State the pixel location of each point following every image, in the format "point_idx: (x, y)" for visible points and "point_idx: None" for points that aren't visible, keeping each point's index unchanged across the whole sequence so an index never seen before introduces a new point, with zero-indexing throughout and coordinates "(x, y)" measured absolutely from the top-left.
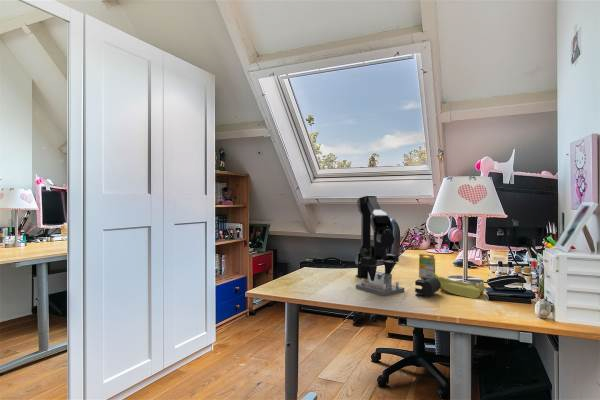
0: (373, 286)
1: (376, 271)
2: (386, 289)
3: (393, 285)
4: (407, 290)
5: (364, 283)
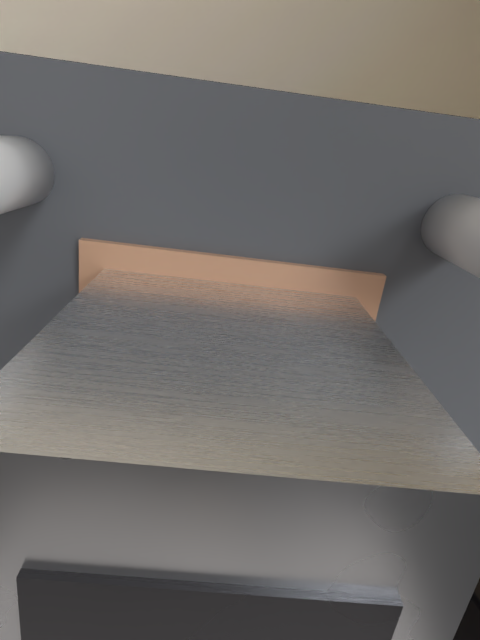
0: None
1: (325, 627)
2: None
3: None
4: None
5: (159, 117)
